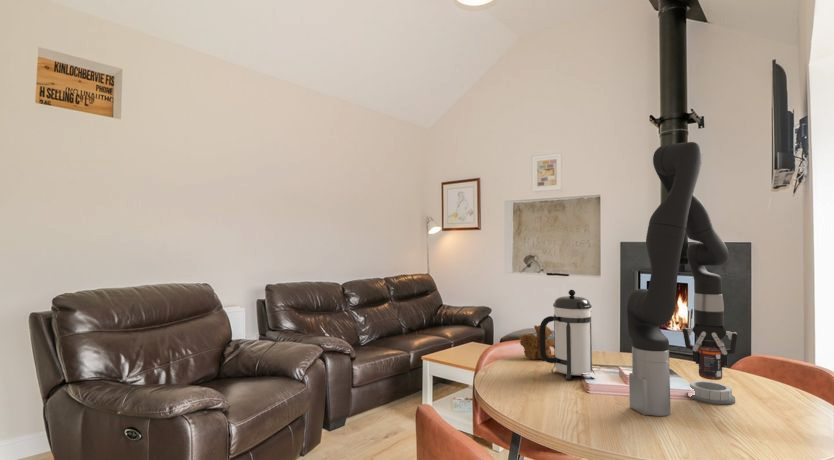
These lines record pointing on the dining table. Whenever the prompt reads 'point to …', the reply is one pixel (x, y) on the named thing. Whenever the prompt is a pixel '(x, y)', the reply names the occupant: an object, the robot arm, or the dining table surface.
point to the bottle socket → (712, 393)
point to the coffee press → (570, 336)
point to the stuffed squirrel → (536, 344)
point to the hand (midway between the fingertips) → (710, 364)
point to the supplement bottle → (710, 360)
